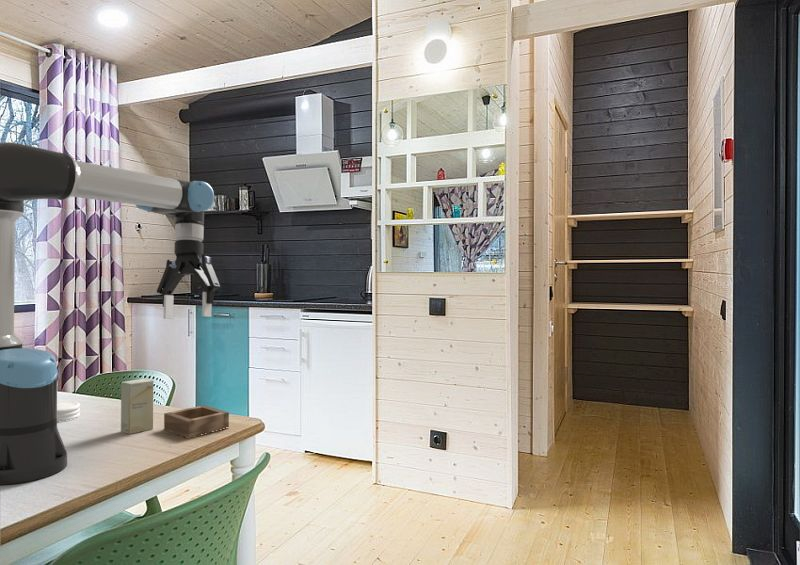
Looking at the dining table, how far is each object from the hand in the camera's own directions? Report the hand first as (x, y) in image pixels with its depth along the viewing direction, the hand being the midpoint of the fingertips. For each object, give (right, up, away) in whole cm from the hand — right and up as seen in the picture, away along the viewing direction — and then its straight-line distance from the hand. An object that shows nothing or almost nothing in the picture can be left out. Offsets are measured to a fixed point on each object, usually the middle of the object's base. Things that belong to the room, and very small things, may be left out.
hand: (187, 317), depth 156 cm
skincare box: (-7, -27, -15) cm, 32 cm away
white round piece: (-32, -26, -5) cm, 42 cm away
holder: (+7, -27, -14) cm, 31 cm away
